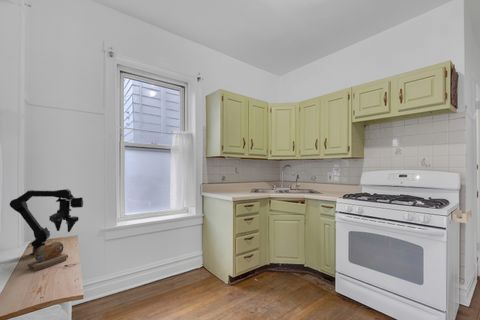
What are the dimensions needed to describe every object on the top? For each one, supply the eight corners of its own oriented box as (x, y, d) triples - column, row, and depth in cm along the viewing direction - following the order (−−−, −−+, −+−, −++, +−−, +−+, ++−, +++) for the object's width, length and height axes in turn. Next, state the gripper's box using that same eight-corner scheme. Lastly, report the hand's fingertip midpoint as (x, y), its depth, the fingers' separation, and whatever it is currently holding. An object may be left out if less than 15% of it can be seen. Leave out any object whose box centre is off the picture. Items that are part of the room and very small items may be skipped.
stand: (26, 269, 131) (27, 263, 131) (57, 258, 148) (58, 253, 148) (37, 270, 129) (38, 265, 129) (67, 259, 146) (68, 254, 146)
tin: (36, 263, 132) (37, 248, 132) (32, 262, 132) (33, 247, 133) (63, 254, 146) (64, 240, 146) (59, 253, 147) (60, 240, 147)
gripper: (41, 209, 156) (40, 233, 156) (63, 210, 151) (62, 235, 151) (58, 206, 167) (57, 229, 166) (79, 208, 162) (78, 231, 161)
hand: (63, 231), depth 161 cm, fingers open, 9 cm apart
